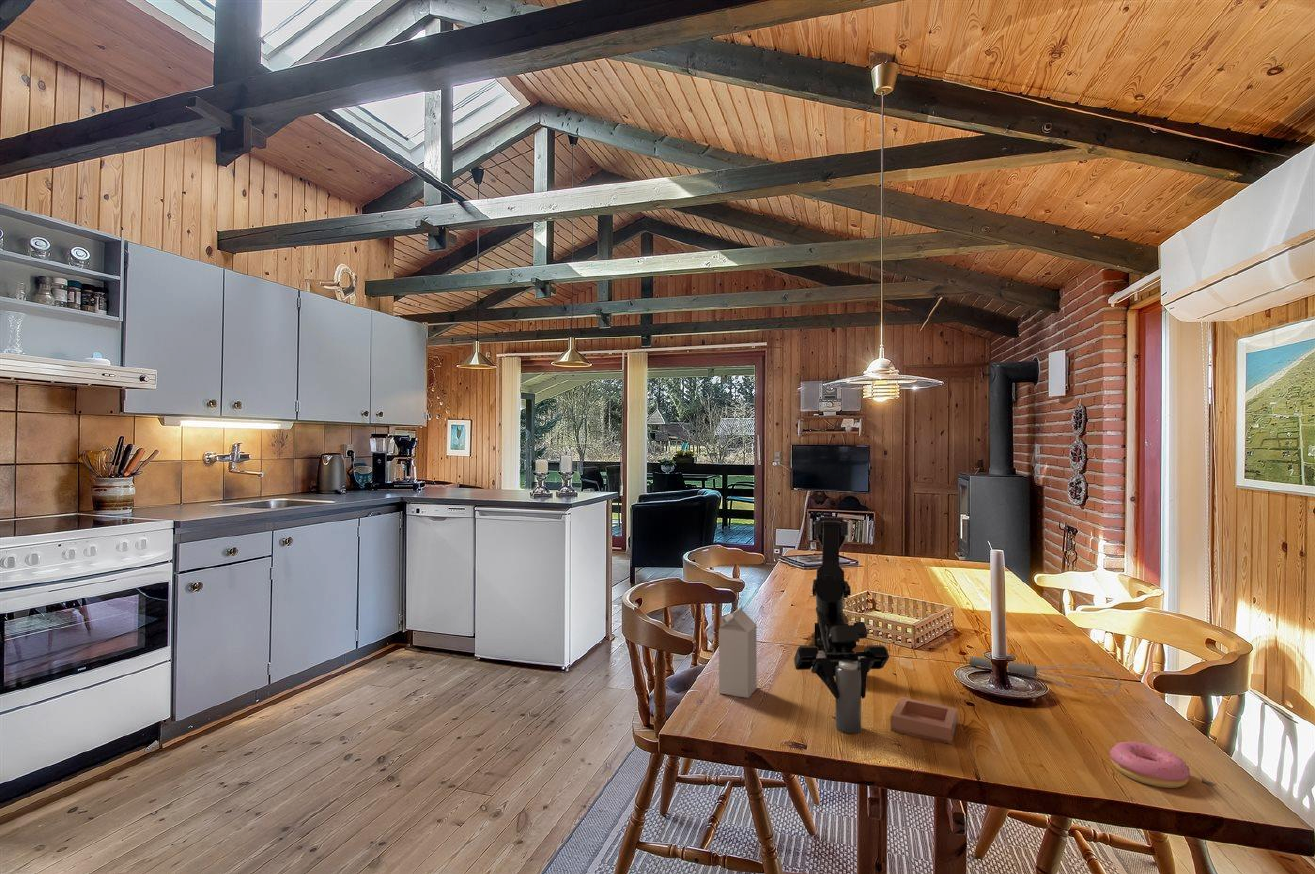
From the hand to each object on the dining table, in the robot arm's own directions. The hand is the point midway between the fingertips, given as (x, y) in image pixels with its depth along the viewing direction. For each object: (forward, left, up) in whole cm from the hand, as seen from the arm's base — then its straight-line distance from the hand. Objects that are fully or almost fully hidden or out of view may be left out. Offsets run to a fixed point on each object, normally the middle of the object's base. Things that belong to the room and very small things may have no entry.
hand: (850, 697), depth 122 cm
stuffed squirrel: (-19, +51, -7) cm, 55 cm away
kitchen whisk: (+32, +52, -7) cm, 62 cm away
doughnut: (+48, +11, -7) cm, 50 cm away
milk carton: (-28, +7, -7) cm, 29 cm away
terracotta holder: (+12, +10, -7) cm, 17 cm away
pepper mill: (-1, +1, -7) cm, 7 cm away
